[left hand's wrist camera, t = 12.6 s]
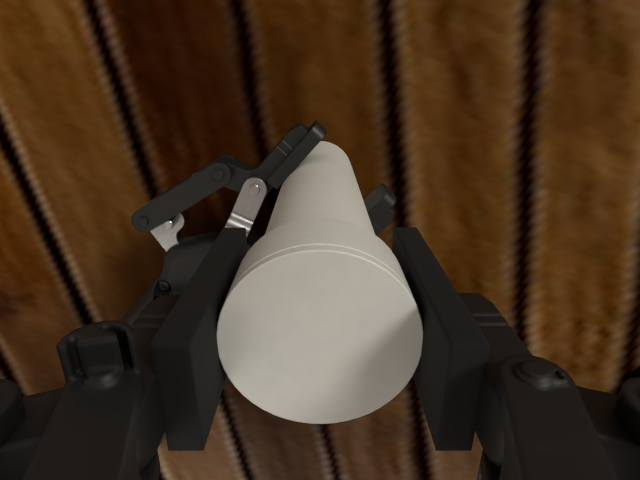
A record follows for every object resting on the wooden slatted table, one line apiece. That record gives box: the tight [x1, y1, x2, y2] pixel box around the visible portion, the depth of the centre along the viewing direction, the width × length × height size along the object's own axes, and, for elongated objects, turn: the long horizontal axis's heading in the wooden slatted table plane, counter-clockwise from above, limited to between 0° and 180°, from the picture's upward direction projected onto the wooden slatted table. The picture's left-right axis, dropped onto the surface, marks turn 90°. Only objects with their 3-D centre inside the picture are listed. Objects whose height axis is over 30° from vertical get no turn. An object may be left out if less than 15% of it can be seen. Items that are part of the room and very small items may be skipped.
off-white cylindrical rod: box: [265, 141, 375, 234], centre depth 19 cm, size 4×4×18 cm
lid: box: [216, 217, 423, 424], centre depth 11 cm, size 5×5×2 cm
